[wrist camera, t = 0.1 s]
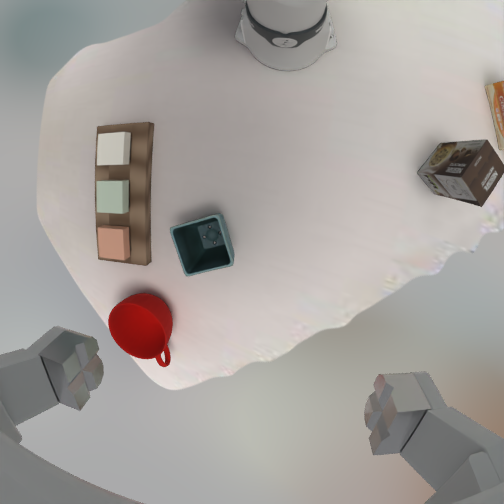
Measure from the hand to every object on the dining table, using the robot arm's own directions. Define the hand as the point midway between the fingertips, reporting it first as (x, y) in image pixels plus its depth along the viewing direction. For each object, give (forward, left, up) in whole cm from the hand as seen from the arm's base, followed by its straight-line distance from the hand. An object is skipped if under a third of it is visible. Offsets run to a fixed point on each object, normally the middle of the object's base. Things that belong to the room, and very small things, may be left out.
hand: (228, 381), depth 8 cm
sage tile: (+1, -30, -47) cm, 55 cm away
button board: (+1, -30, -48) cm, 57 cm away
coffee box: (-10, +32, -48) cm, 59 cm away
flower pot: (+8, -11, -48) cm, 50 cm away
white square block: (-8, -30, -47) cm, 56 cm away
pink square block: (+10, -30, -47) cm, 56 cm away
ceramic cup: (+28, -23, -48) cm, 60 cm away
